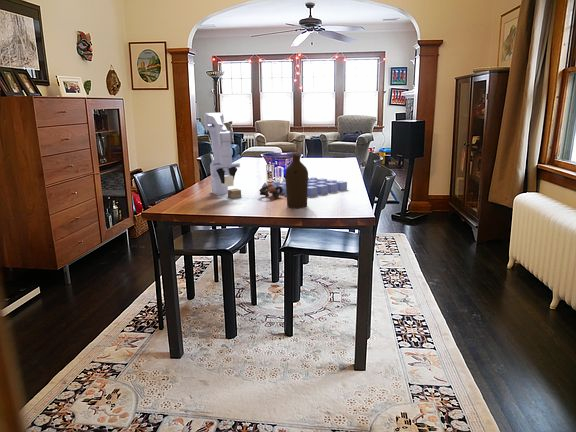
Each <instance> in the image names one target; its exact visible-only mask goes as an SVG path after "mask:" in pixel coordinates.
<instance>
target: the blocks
mask: <svg viewBox="0 0 576 432" xmlns="http://www.w3.org/2000/svg"><path fill="white" fill-rule="evenodd" d="M270 185H272V186H273V187H277V186H281V187H282V189H283V191H282V193H281V194H280V195H284V196H285V197H287V193H286V180H285V178H284V179H283V180H282V182H280V181H279V180H274V181H272V183H271V184H270ZM265 186H268V183H266V182H264V183H263V185H262V186H261V188H263V187H265ZM338 191H339V192H342V191H343V192H344V191H348V182H347V181H345V180H343V181H342V180H340V181H337V180H335V179H327V178H324V177H323V178H318V177H316V176H315V177H314V176H312V177H310V178H309V177H308V190H307V197H310V198H311V197H317V196H318V195H321V196H323V195H327V194H328V193H332V194H333V193H337V192H338ZM277 192H280V189H278V191H277ZM280 195H279V196H280Z"/></svg>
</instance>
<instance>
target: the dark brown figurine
mask: <svg viewBox="0 0 576 432" xmlns="http://www.w3.org/2000/svg"><path fill="white" fill-rule="evenodd" d="M267 185H268V184H267ZM278 189H280V192H277V191H278ZM282 191H283V189H282V187H281V186H277V187H273V186H272V185H271V184H269V185H268V186H265V187H263V188H262V187H261V188H260V189H259V195H260V196H265V197H269V199H270V201H273V200H278V199H279V197H280V194H281V193H282ZM269 192H270V193H271V194H272V195H270V193H269Z"/></svg>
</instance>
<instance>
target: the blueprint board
mask: <svg viewBox="0 0 576 432" xmlns="http://www.w3.org/2000/svg"><path fill="white" fill-rule="evenodd" d="M216 198H219V199H222V200H226V201H229V202H231V203H237V202H242V201H248V200H254V197H249V196H246V195H242V194H241V198H235V199H231V198H228V194H222V195H218V196H216Z"/></svg>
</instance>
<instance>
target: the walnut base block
mask: <svg viewBox="0 0 576 432" xmlns="http://www.w3.org/2000/svg"><path fill="white" fill-rule="evenodd" d="M227 195H228V198H231V199H235V198H241V195H242V190H241V189H238V188H231V189H230V188H229V189H228V194H227Z"/></svg>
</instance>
